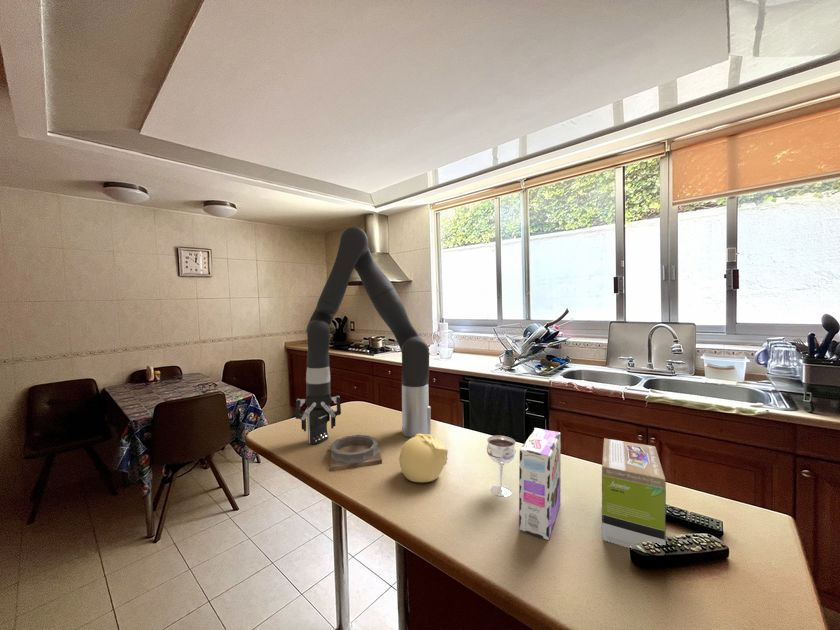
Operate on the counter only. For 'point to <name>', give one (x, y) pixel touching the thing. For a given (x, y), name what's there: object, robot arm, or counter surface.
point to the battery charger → (317, 425)
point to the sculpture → (423, 458)
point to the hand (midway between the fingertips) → (318, 429)
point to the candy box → (539, 482)
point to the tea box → (632, 494)
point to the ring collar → (354, 452)
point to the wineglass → (501, 459)
